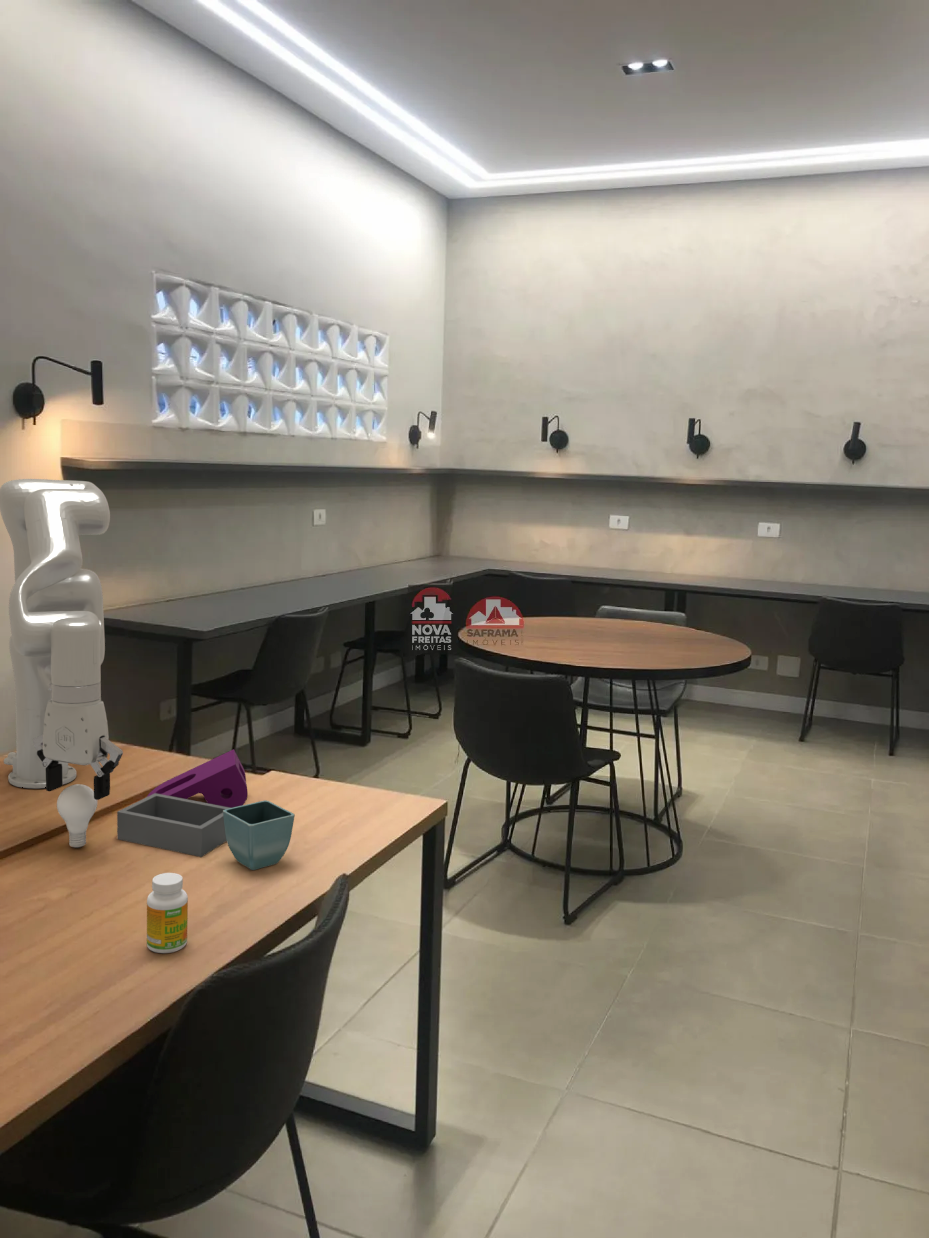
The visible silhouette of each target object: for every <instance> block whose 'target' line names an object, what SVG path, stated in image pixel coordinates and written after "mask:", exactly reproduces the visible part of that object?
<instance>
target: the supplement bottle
mask: <svg viewBox="0 0 929 1238" xmlns="http://www.w3.org/2000/svg"><path fill="white" fill-rule="evenodd" d="M183 878H184V877H183V876H182V875H181V874H179V873H176V872H163V873H160V874H157V875H155V876H153V878H152V882H151V884H152V885H151V888H152V891H151V892H150V893H149V894H148V896H147V897H146V898H147V899H146V946H147V949H148V950H150V951H151V952H154V953H158V954H170V953H174V952H177V951H180V950H181V949H183V948H184V947H185V946H186V944H187V943H188V919H189V918H188V912H189V910H188V908H189V907H188V906H189V903H188V901H189V899H188V898H189V897H188V894H187V891H185V890H184V889H183V883H184V880H183Z"/></svg>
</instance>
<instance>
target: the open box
mask: <svg viewBox="0 0 929 1238" xmlns="http://www.w3.org/2000/svg"><path fill="white" fill-rule="evenodd" d="M147 796H148V795H147ZM147 796H146V797H145V798H142V799H140V800H138V801H137V802H134V803H132V804H130V805H128V806H126V807H124V808H121V809H119V810H118V811H117V812H116V820H117V821H116V822H117V823H116V826H117V827H116V829H117V831H116V834H117V835H116V837H117V840H120V841H124V842H127V843H134V844H138V845H144V846H148V847H153V848H157V849H162V850H167V851H172V852H176V853H180V854H181V853H182V854H185V855H190V856H195V857H199V858H202V857H204V856H205V855H207V854H208V853H210V852H212V851H213V850H215V849H217V848H218V847H219V846H221V845H222V844H225V843H227V840H226V834H225V826H224V816H223V810H225V809H229V807H224V806H219V805H214V804H208V803H207V802H202V801H196V800H192V799H189V798H188V799H182V798H177V797H172V796H167V795H162V794H156V793H154V794H152V795H150V796H148V797H147Z"/></svg>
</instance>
